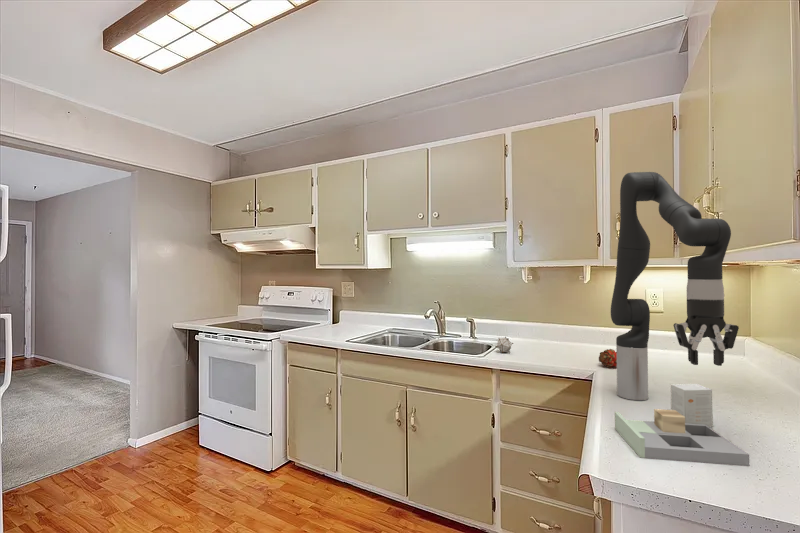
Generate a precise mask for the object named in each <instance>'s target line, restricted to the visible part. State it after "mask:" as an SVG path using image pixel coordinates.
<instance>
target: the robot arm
mask: <svg viewBox="0 0 800 533" xmlns="http://www.w3.org/2000/svg"><path fill="white" fill-rule="evenodd" d="M650 201H653V202H656V203H657V204H658V212H659V215H660V217H661V218H662V220H664V221H665V222H666V223H667V224H669V225H670V226H671V227H672V228H673V230H674V232H675V234H676V236H677V239H678V241H680V243H682V244H683V245H685V246H688V247H705V248H704V250H703V252H702V253H701V254H700V255H696V256H692V257H690V258H689V259H688V260H687V265H686V266H687V283H686V316H687V317H686V320H685V322H681V323H680V322H679V323H677V322H675V323H673V328H674V332H675V335H676V338H677V341H678V344H679V346H681V347H684V348H686V349H687V360H688V361H689V362H690V364H691V365H693V366H699V350H697V349H698V347H699V344H700V342H702V339H704V338H709V340H710V341H711V343H712V346H713V348H714V349H713V350H712V353H713V365H715V366H717V367H719V366H720V367H721V366H722V364H724V363H725V351H726V350H729V349H731V350H732V349H733V348H734V346H735V342H736V340H737V336H738V332H739V329H740V328H739V325H738V324H737V325H736V324H732V323H726V321H725V319H724V317H725V288H724V287H725V286H724V282H723V281H724V280H723V262H724V260H725V257H726V253H727V250H728V246H729V244H730V241H731V237H732V230H731V227H730V225H729V223H728V222H727V221H726V220H724V219H721V218H703V216H702V213H701V212H700V211H699V209H698V208H697V207H695V206H694V205H692V204H691V203H689V202H688V201H687V200H685V199H684V198H682V197H681V196H680V195H679V194H678V193H677V192H676V190H675V189H673V187H672V186H671V185H670V184H669V182H668V181H667V180H666V179H665V178H664V176H662V175H661V174H659V173H658V172H656V171H639V172H638V171H636V172H635V171H634V172H633V171H632V172H627V173H625V175H624V176H623V177H622V180H621V183H620V190H619V204H620V205H619V206H620V208H619V212H620V214H619V216H620V218H619V231H618V233H619V234H618V241H617V242H618V243H617V253H616V268H615V269H616V270H615V280H614V286H613V287H614V288H613V292H612V298H611V304H610V318H611V321H612V323H613V324H614V325H615V326H620V327H631V329H630V330H628V331H626V332H625V333H623V334H619V335H618V336H617V337H616V341H615V342H616V343H615V344H616V346H615V347H616V349H615V352H617V367H616V395H617V396H618V397H620V398H623V399H627V400H631V401H646V400H648V399H649V365H648V364H649V360H648V359H649V356H648V354H649V352H648V351H649V350H648V349H649V348H648V343H649V338H650V322H651V321H650V320H651V318H650V317H651V313H650V312H651V310H650V306H649V304H648V302H647V301H646V300H645V299H643V298H628V297H629V293H630V291H631V288H632V286H633V284H634V283H635V281H636V280H637V279H638V277H640V275H641V274H642V273H643V271H644V270H645V269H646V267H648V266H647V265H648V264H649V260H650V253H651V241H650V238H649V235H648V234H647V232H646V231H645V229H644V227H643V225H642V223H641V222H640V219H639V217H638V214H637V213H638V211H637V208H638V207H637V206H638V204H637V202H650ZM687 328H688V329H689V331H690V332H689V335H688V336H687V335H686V331H687ZM723 330H724V335H723V336H722V334H721V332H722V331H723Z"/></svg>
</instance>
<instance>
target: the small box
mask: <svg viewBox="0 0 800 533" xmlns="http://www.w3.org/2000/svg"><path fill="white" fill-rule="evenodd" d="M670 410H676V411H677V412H678V413H680V414H681V415H683V416H684V417H685V423H687V424H704V425H707V426H708V427H710V428H713V427H714V425H713V424H714V423H713V421H714V420H713V418H714V416H713V389H711V388H709V387H707V386H703V385H701V384H699V383H681V384H680V383H679V384H677V383H675V384H673V383H672V384H670Z"/></svg>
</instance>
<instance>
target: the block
mask: <svg viewBox="0 0 800 533" xmlns="http://www.w3.org/2000/svg"><path fill="white" fill-rule="evenodd" d="M653 413H654V414H653V420H654V424H655V425H656V426H657V427H658V428H659V429H660V430H661V431H663V432H673V433H685V417H684V416H683V415H681V414H680V413H678V412H677V411H676V410H671V409H661V408H659V409H658V408H654V409H653Z"/></svg>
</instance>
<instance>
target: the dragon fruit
mask: <svg viewBox="0 0 800 533" xmlns="http://www.w3.org/2000/svg"><path fill="white" fill-rule="evenodd" d="M598 362H599V363H600V364H601V365H603V366H604V367H607V368H609V369H611V368H613V367H615V368H617V352H616V350H614V349H611V348H609V349H604V350H603V351H600V352H599V355H598Z"/></svg>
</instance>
